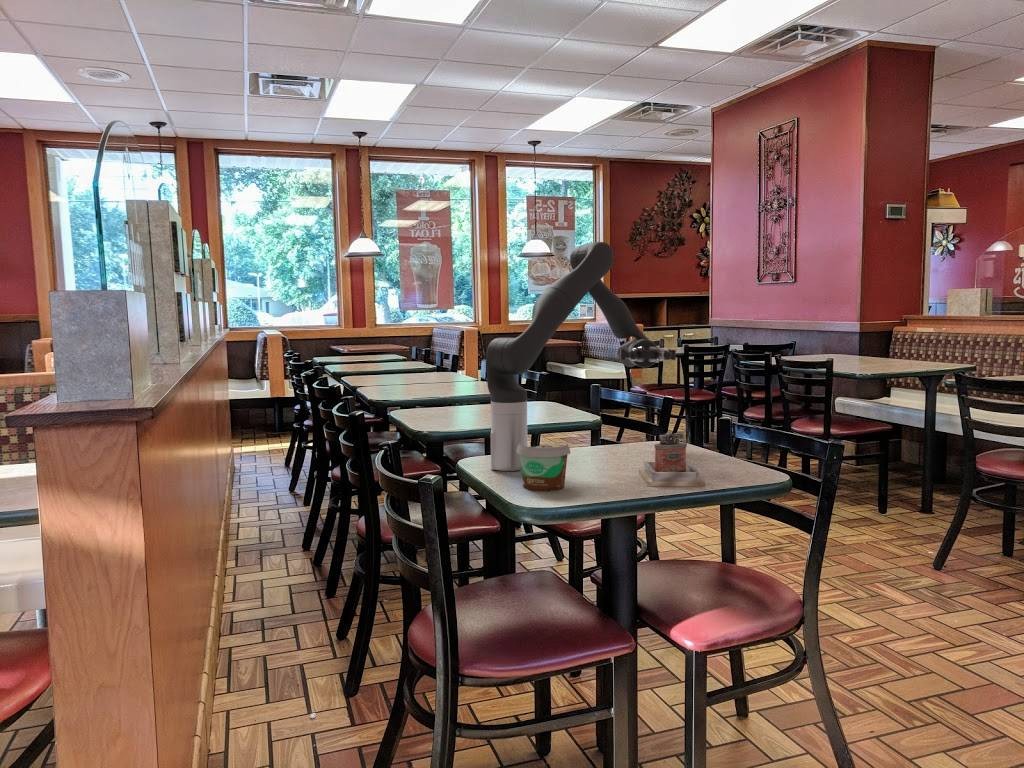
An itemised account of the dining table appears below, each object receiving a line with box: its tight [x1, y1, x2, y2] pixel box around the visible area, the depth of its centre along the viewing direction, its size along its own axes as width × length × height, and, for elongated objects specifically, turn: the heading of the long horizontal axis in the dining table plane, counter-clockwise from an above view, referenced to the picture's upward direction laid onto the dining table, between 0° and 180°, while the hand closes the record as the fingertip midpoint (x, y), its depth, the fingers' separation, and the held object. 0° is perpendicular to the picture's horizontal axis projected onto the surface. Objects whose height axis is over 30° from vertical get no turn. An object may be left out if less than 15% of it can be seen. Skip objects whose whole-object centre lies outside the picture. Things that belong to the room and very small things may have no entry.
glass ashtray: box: [638, 460, 706, 487], centre depth 178 cm, size 13×14×3 cm
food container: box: [517, 442, 571, 493], centre depth 169 cm, size 12×6×10 cm, turn 76°
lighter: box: [654, 432, 688, 472], centre depth 177 cm, size 8×3×10 cm, turn 107°
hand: (651, 355), depth 192 cm, fingers open, 8 cm apart
